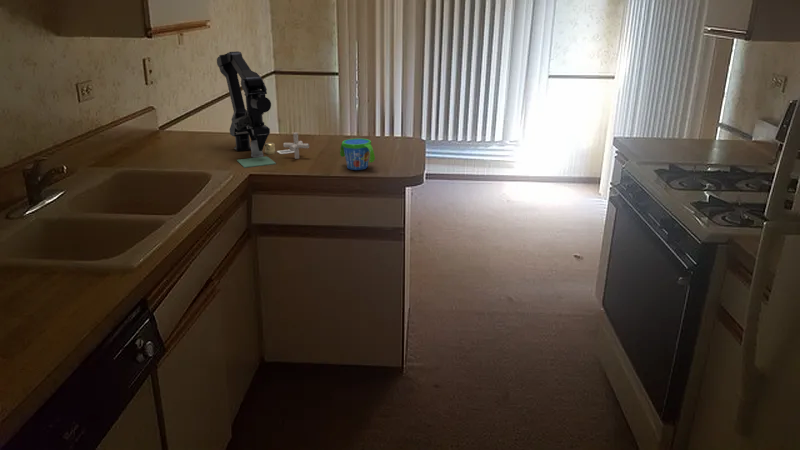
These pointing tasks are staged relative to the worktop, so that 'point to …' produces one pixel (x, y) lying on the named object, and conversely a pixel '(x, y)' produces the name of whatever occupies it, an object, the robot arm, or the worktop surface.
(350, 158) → the snack cup
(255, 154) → the cylinder
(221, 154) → the worktop surface
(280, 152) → the label tile
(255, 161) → the mat
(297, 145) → the pipe connector
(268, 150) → the brass fitting
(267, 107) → the robot arm
